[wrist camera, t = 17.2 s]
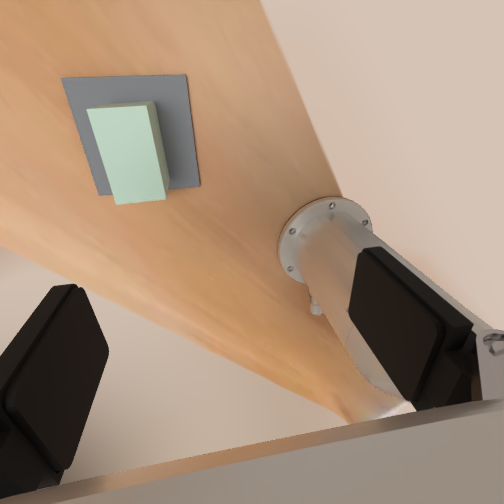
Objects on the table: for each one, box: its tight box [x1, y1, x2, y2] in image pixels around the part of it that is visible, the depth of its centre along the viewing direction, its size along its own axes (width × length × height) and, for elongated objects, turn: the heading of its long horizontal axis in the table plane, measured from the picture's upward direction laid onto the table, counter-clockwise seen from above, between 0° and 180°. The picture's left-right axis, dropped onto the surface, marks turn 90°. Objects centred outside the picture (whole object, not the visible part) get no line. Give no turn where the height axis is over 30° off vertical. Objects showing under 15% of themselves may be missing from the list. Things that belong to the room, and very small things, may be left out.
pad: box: [61, 75, 200, 196], centre depth 26 cm, size 10×10×1 cm
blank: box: [86, 101, 170, 205], centre depth 24 cm, size 7×4×6 cm, turn 2°
